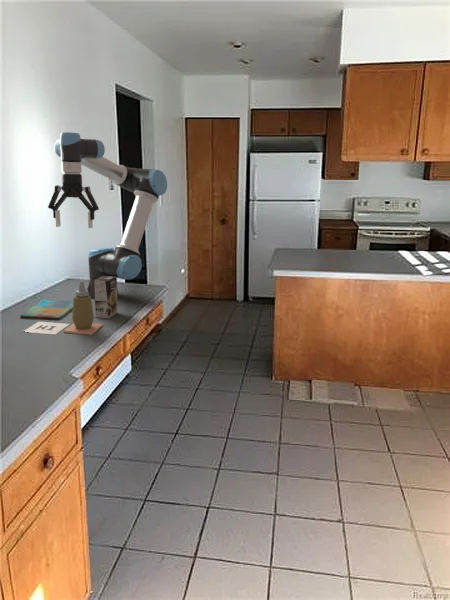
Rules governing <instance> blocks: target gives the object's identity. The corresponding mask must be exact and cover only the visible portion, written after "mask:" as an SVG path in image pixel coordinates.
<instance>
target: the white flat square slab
mask: <svg viewBox="0 0 450 600" xmlns="http://www.w3.org/2000/svg"><path fill="white" fill-rule="evenodd" d="M69 326H70V323H64V322H63V323H62V322H61V323H60V322H58V323H57V322H49V321H37V322H35V323H34V324H32V325H31V326H29V327H28V328H26V329H24V330H23V331H25V332H24V333H27V332H29V333H30V334H31V333H32V334H41V335H54V336H55V335H57V334H58V333H59V332H61V331H62V330H65V329H66V328H68V327H69Z"/></svg>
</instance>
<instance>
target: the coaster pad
mask: <svg viewBox="0 0 450 600" xmlns="http://www.w3.org/2000/svg"><path fill="white" fill-rule="evenodd" d="M102 327H103V323H96V322H95V323H92V326H91V327H90V328H87V329H78V328H76V327H75V324H74V322H73V323H72V324H71V325H68V326H67V327H66V328H64V329H63V333H66V334H79V335H93V334H95V333H96V332H97V331H98V330H99V329H101V328H102Z"/></svg>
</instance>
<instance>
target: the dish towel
mask: <svg viewBox="0 0 450 600" xmlns="http://www.w3.org/2000/svg"><path fill="white" fill-rule="evenodd" d="M72 312H73V300H69V301H67V300H65V301H64V300H62V301H60V300H58V301H55V300H53V301H52V300H47V299H42V300H39V302H38V303H37V304H35V305H34V306H32V307H30V308H29V309H28V310H26V311H25V312H23V313H21V314H20V315H19V317H20V319H23V318H25V320H43V321H44V320H49V321H51V320H52V321H61V320H62V319H64V318H65V317H66V316H67V315H68V314H69V313H72Z"/></svg>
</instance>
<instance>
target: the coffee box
mask: <svg viewBox="0 0 450 600" xmlns="http://www.w3.org/2000/svg"><path fill="white" fill-rule="evenodd" d="M117 288H118V278H117V277H115V276H102V277H100V278H97V279H95V299H94V311H95V312H94V318H101V319H110V318H112V317H114V316H115V315H116V314H118V296H117Z"/></svg>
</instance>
